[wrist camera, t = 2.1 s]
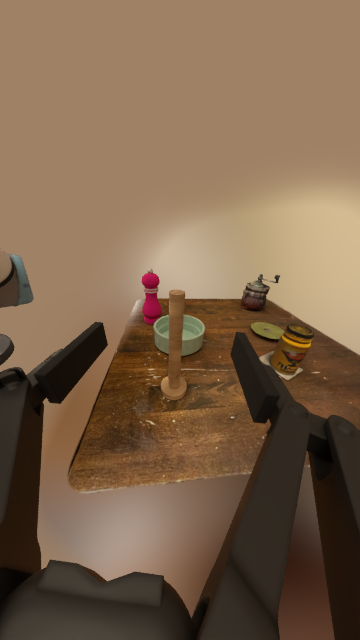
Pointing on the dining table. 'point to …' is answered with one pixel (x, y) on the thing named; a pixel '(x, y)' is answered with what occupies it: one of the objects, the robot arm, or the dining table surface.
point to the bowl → (190, 337)
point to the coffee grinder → (256, 294)
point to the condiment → (289, 351)
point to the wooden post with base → (175, 348)
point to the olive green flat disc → (267, 330)
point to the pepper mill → (151, 297)
